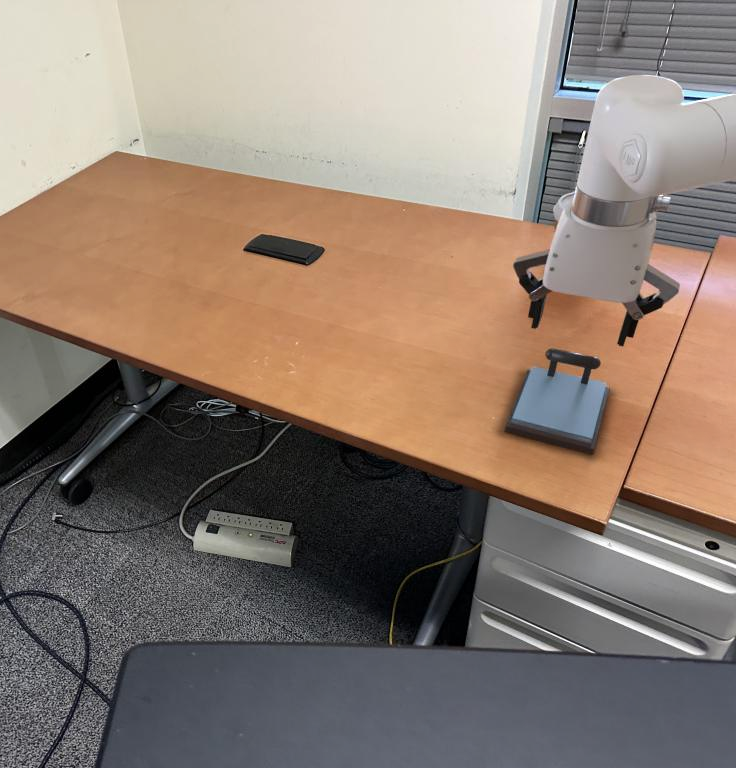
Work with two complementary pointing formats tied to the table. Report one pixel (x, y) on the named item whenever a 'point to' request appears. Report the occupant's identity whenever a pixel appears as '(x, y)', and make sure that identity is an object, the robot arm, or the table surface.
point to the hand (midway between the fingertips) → (578, 330)
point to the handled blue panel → (562, 396)
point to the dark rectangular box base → (554, 436)
